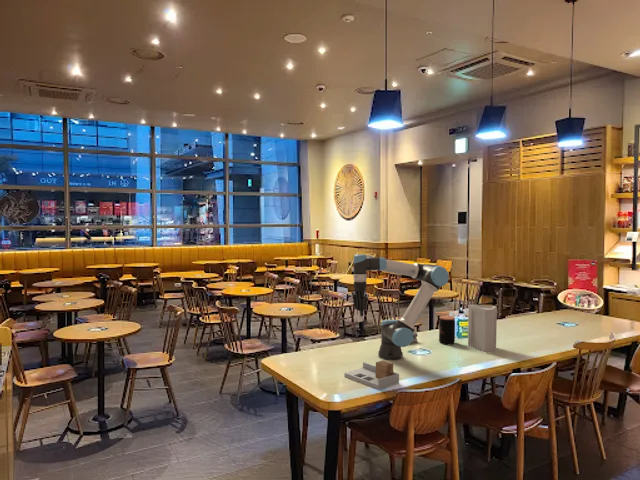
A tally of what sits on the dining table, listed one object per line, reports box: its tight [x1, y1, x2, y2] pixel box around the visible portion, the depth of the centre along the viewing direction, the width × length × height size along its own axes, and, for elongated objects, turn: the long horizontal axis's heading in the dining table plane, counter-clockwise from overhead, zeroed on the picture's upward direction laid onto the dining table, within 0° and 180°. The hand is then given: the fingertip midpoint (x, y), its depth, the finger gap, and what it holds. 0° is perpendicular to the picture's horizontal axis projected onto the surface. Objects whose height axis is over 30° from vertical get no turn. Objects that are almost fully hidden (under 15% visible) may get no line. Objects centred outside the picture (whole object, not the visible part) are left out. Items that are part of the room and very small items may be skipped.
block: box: [375, 359, 394, 379], centre depth 244 cm, size 6×7×8 cm
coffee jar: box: [438, 315, 456, 345], centre depth 323 cm, size 11×11×18 cm
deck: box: [344, 362, 400, 390], centre depth 246 cm, size 15×26×5 cm, turn 39°
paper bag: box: [467, 304, 498, 353], centre depth 309 cm, size 19×15×28 cm
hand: (360, 321), depth 270 cm, fingers closed
